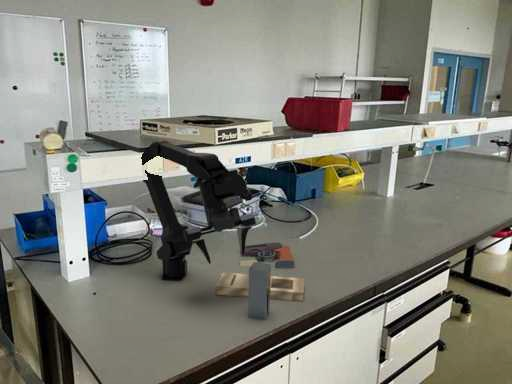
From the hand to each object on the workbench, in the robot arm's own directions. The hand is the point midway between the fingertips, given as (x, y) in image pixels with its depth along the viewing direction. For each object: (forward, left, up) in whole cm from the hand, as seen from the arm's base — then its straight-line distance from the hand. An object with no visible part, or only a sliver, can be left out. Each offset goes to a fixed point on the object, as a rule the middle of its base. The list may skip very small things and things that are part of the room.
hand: (226, 258), depth 113 cm
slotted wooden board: (+9, +7, -12) cm, 16 cm away
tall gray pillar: (+10, -6, -12) cm, 16 cm away
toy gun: (+8, +30, -12) cm, 33 cm away
